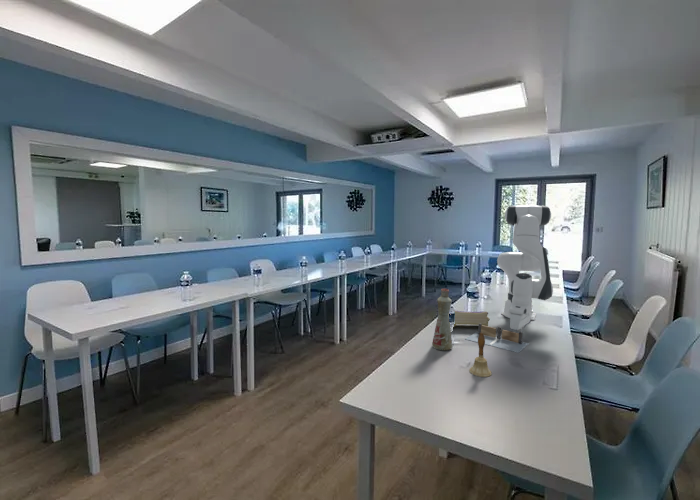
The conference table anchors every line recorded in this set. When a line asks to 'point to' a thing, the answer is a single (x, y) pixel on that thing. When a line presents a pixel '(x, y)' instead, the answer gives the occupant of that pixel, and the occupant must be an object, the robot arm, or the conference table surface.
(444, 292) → the bottle
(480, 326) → the fence fixed
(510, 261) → the robot arm
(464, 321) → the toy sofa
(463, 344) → the conference table surface
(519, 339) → the fence flap
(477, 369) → the hand bell
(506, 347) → the card
